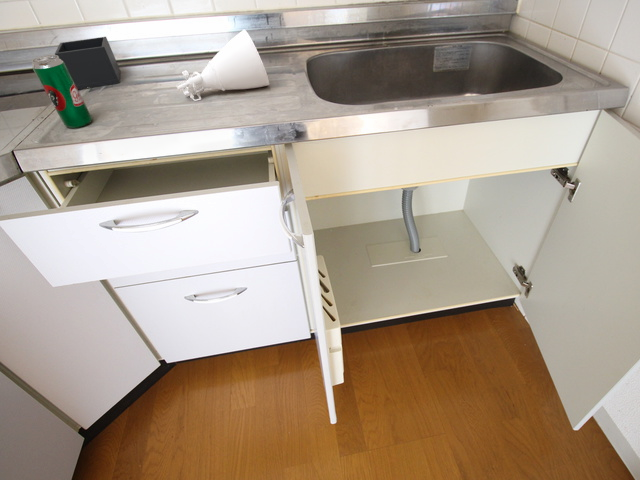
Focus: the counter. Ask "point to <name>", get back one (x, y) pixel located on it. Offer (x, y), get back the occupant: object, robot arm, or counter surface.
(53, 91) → the soda can
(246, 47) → the rocket engine
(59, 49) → the bin
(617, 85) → the counter surface
